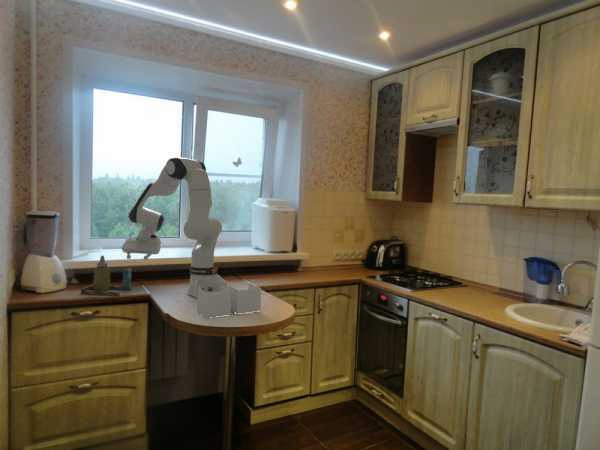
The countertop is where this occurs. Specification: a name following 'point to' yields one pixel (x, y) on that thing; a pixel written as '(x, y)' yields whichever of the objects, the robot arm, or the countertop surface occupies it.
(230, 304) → the storage container
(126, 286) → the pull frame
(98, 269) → the squeeze bottle
